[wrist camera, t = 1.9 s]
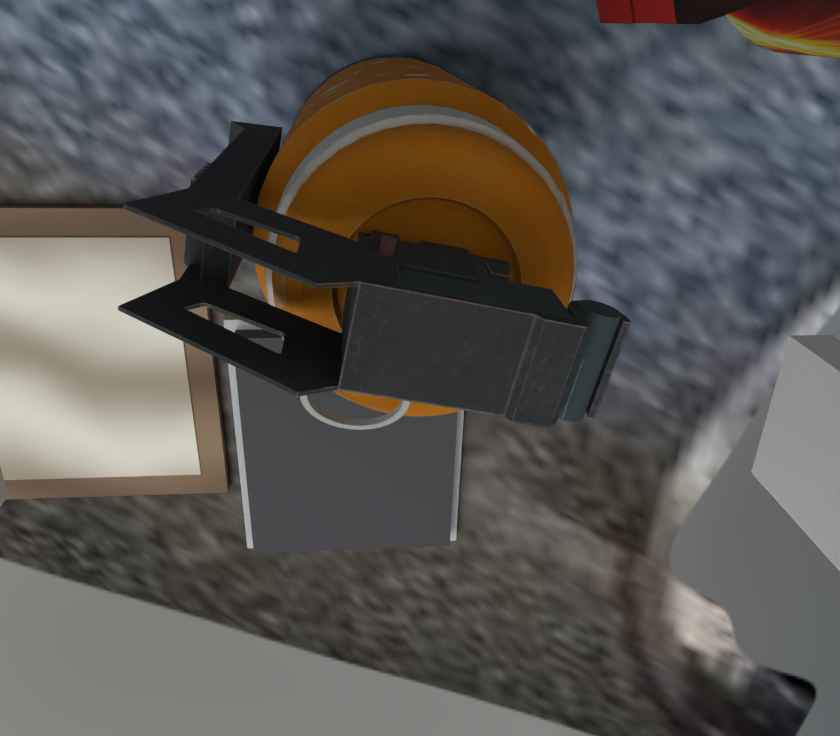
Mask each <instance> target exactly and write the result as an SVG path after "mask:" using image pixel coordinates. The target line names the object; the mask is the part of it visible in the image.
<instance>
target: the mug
mask: <svg viewBox="0 0 840 736" xmlns="http://www.w3.org/2000/svg"><path fill="white" fill-rule="evenodd" d="M596 1H597V7H598V13H599V19H600V23H627V24H634V23H673V24H700V23H703V22H706V21H709V20H712V19H715V18H718V17H721V16H724V15H725V16H726V18H727V19H728V20H729V21H730V22H731V23H732V25H733V26H734V27H735V28H736V29H737V30H738V31H739V32H740V34H742V35H743V36H745V37H746V38H747V39H749V40H750V41H752V42H753V43H755V44H756V45H758V46H761V47H764V48H766V49H769V50H772V51H775V52H780V53H790V54H800V55H812V56H824V57H836V58H840V0H596Z"/></svg>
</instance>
